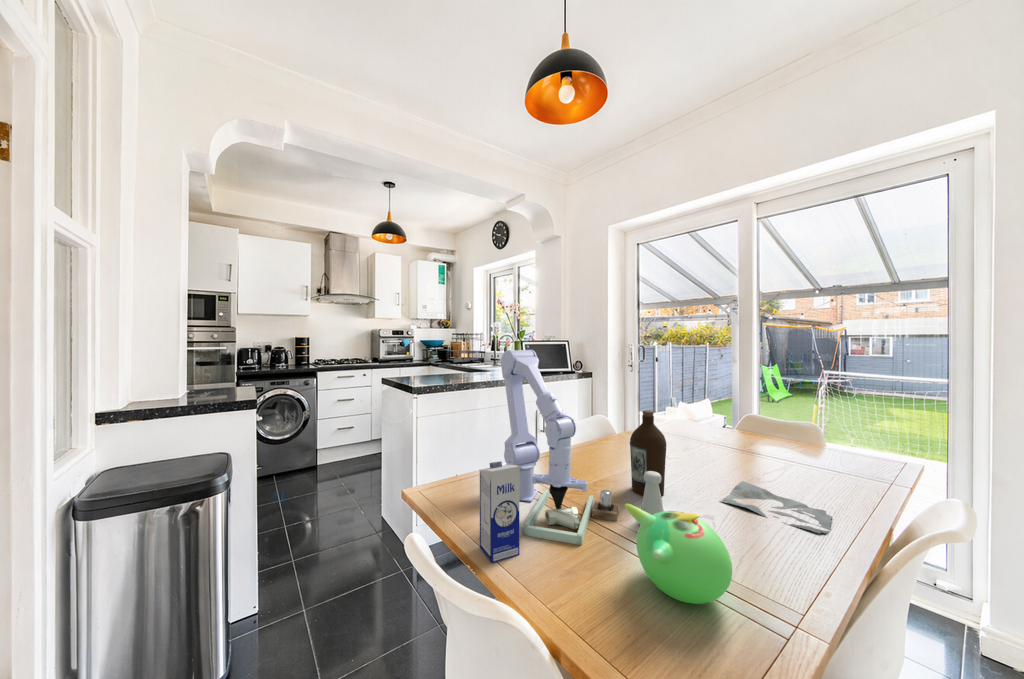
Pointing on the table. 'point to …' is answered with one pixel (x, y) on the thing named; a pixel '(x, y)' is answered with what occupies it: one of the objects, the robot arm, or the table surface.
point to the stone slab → (754, 492)
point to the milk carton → (499, 511)
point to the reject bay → (552, 533)
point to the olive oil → (647, 453)
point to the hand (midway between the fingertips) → (559, 512)
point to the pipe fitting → (563, 517)
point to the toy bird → (682, 555)
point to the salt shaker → (652, 493)
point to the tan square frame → (605, 514)
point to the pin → (605, 500)
